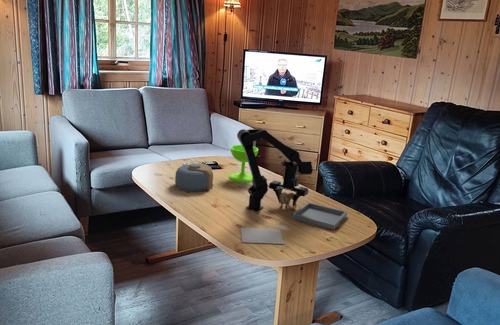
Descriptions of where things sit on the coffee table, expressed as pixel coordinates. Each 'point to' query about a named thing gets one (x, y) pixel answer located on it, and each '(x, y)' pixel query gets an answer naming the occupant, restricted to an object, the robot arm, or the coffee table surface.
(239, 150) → the wineglass
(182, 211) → the coffee table surface
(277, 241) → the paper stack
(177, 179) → the alarm clock
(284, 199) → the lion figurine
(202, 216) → the coffee table surface
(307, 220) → the tray
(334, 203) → the coffee table surface
